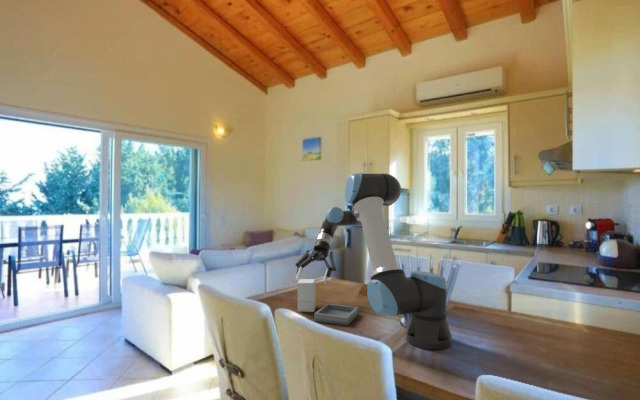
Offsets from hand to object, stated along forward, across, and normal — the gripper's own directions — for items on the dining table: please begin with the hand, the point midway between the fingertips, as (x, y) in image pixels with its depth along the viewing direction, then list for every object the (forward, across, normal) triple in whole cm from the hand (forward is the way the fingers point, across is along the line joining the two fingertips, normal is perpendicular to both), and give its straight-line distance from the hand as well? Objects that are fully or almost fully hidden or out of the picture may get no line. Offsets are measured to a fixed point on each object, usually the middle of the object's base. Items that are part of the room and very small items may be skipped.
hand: (310, 281), depth 157 cm
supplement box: (+12, -1, -4) cm, 12 cm away
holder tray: (+15, -17, 0) cm, 23 cm away
